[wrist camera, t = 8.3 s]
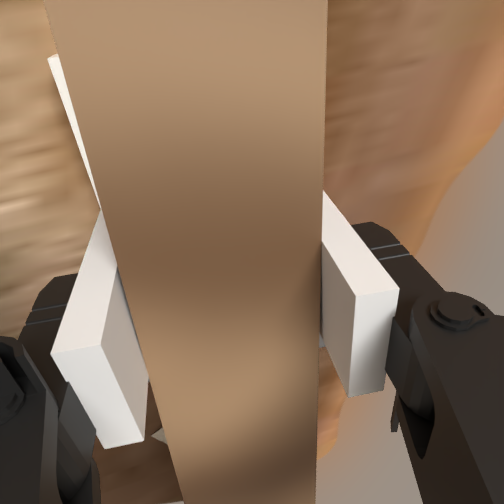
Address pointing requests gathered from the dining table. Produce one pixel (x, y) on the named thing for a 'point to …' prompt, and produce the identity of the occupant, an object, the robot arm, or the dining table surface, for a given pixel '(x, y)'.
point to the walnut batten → (213, 220)
